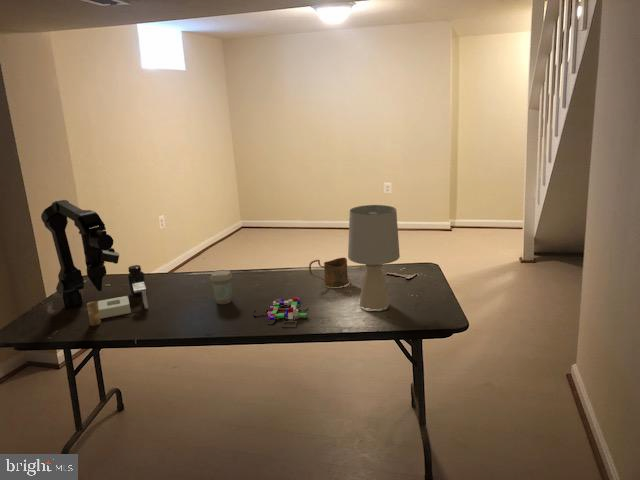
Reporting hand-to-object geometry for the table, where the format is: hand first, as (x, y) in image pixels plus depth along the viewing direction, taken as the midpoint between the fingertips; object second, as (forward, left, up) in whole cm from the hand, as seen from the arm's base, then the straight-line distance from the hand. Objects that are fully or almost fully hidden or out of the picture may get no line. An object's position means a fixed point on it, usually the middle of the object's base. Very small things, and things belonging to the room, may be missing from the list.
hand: (99, 287), depth 188 cm
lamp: (+93, -40, -13) cm, 102 cm away
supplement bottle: (+14, +21, -13) cm, 28 cm away
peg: (-3, -3, -13) cm, 13 cm away
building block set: (+60, -28, -13) cm, 68 cm away
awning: (+14, +6, -12) cm, 20 cm away
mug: (+88, -11, -13) cm, 90 cm away
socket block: (+4, +6, -13) cm, 14 cm away
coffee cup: (+44, -6, -13) cm, 46 cm away
